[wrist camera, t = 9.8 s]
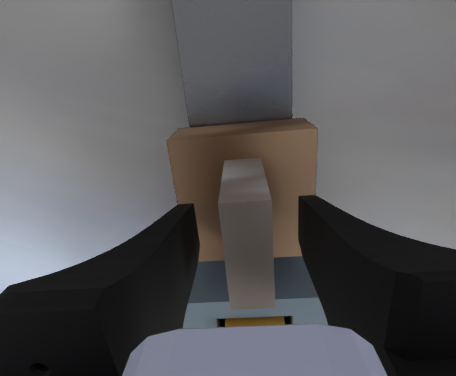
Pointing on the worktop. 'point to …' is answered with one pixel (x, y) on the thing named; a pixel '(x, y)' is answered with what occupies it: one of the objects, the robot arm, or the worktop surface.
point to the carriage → (246, 197)
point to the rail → (235, 60)
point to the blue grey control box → (284, 306)
